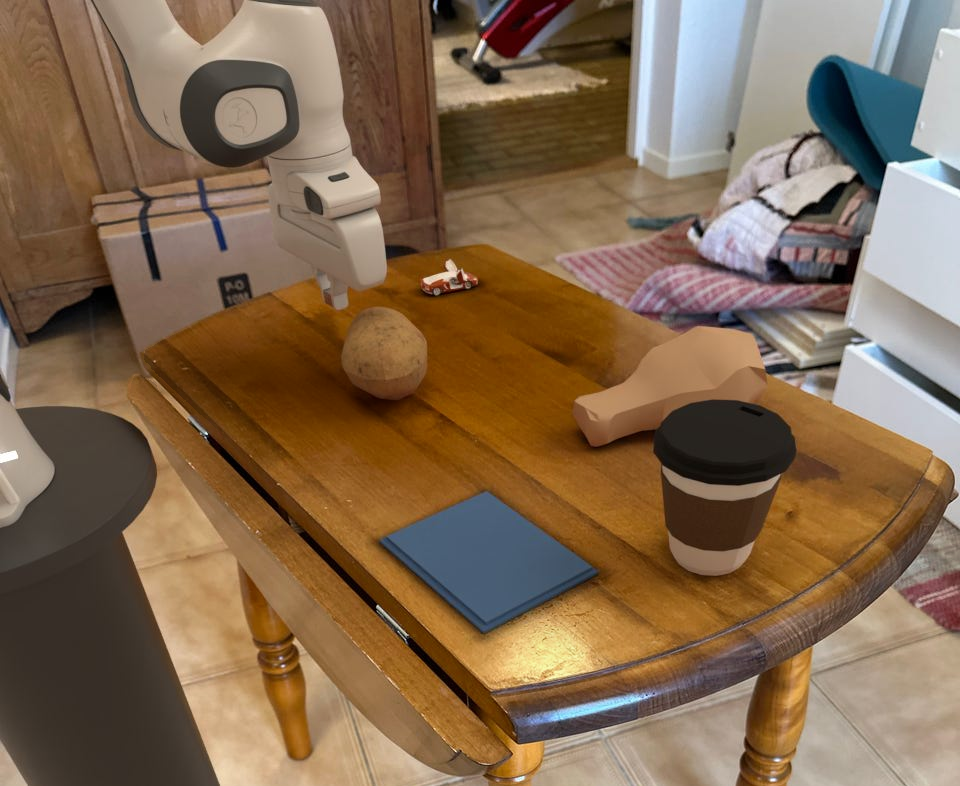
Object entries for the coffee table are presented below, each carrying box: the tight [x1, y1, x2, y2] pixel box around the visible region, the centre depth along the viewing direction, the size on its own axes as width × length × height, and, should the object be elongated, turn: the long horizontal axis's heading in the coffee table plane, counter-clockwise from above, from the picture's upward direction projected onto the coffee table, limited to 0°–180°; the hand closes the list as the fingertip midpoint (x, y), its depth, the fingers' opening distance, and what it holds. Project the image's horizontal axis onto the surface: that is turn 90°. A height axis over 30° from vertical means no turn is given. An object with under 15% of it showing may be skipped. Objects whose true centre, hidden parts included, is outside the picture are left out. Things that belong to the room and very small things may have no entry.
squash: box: [572, 325, 768, 448], centre depth 93 cm, size 11×20×9 cm, turn 109°
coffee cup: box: [652, 399, 797, 577], centre depth 75 cm, size 11×11×12 cm
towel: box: [378, 490, 599, 635], centre depth 81 cm, size 12×16×1 cm
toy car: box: [419, 258, 479, 297], centre depth 125 cm, size 5×8×3 cm, turn 109°
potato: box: [340, 306, 428, 401], centre depth 102 cm, size 10×14×8 cm
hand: (336, 305), depth 107 cm, fingers closed
